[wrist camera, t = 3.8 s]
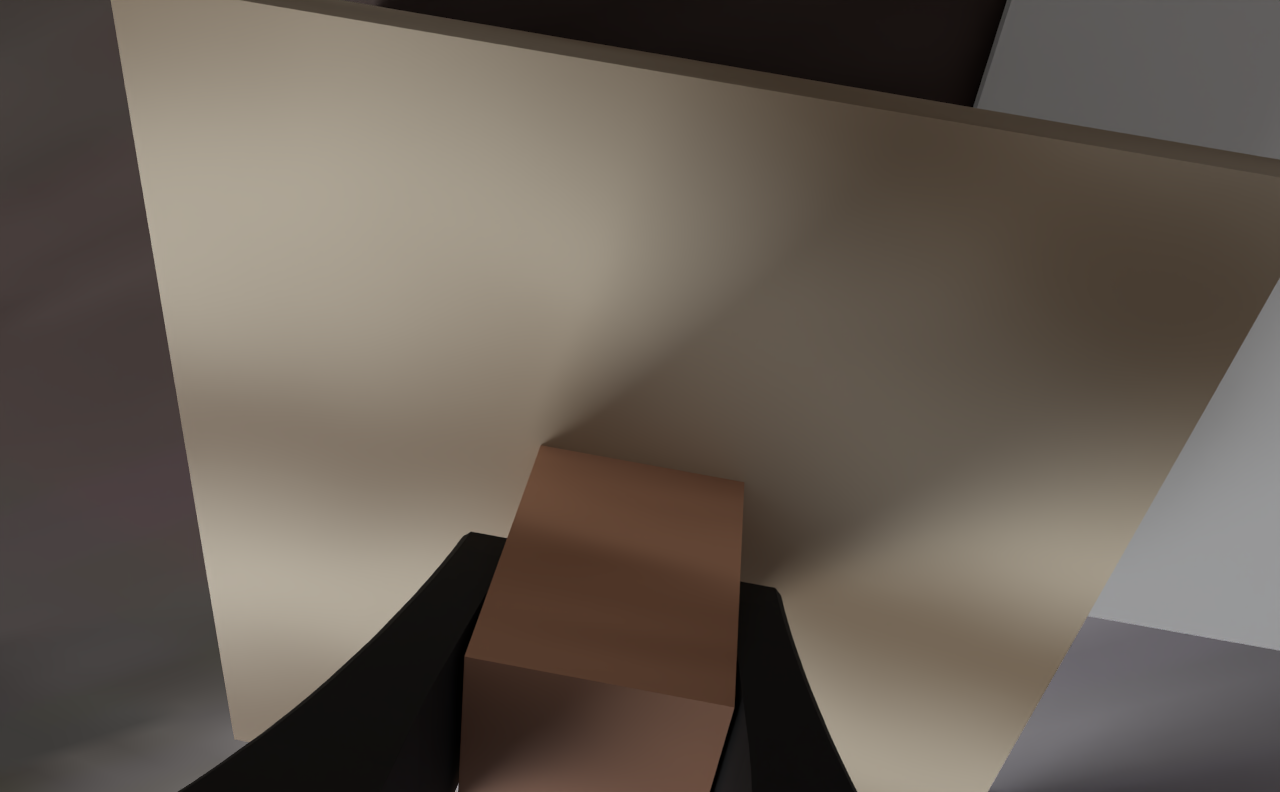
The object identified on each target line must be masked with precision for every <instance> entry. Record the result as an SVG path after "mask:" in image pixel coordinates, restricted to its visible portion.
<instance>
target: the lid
mask: <svg viewBox="0 0 1280 792" xmlns="http://www.w3.org/2000/svg"><path fill="white" fill-rule="evenodd" d="M111 4H112V10H113V16H114V22H115V28H116V34H117V40H118V46H119V52H120V58H121V64H122V70H123V76H124V82H125V88H126V94H127V100H128V106H129V112H130V118H131V124H132V130H133V136H134V142H135V148H136V154H137V160H138V166H139V172H140V178H141V184H142V190H143V196H144V202H145V208H146V214H147V220H148V226H149V232H150V238H151V244H152V250H153V256H154V262H155V268H156V273H157V279H158V285H159V291H160V297H161V303H162V309H163V315H164V321H165V327H166V333H167V339H168V345H169V351H170V357H171V363H172V369H173V375H174V381H175V387H176V393H177V399H178V405H179V411H180V417H181V423H182V429H183V435H184V441H185V447H186V453H187V459H188V465H189V471H190V477H191V483H192V489H193V495H194V501H195V507H196V513H197V519H198V525H199V531H200V537H201V543H202V549H203V555H204V561H205V567H206V573H207V579H208V585H209V591H210V597H211V603H212V608H213V614H214V620H215V626H216V632H217V638H218V644H219V650H220V656H221V662H222V668H223V674H224V680H225V686H226V692H227V698H228V704H229V710H230V716H231V722H232V728H233V734H234V739H236V740H241V741H246V742H250V741H252V740H253V739H255V738H256V737H257V736H259V735H260V734H262V733H263V732H264V731H265V730H267V729H268V728H269V727H271V726H272V725H273V724H274V723H276V722H277V721H278V720H279V719H281V718H282V717H283V716H285V715H286V714H287V713H288V712H290V711H291V710H292V709H293V708H295V707H296V706H297V705H298V704H299V703H301V702H302V701H303V700H304V699H306V698H307V697H308V696H309V695H310V694H311V693H313V692H314V691H315V690H316V689H317V688H318V687H320V686H321V685H322V684H323V683H324V682H325V681H327V680H328V679H329V678H330V677H331V676H332V675H333V674H334V673H335V672H336V671H337V670H339V669H340V668H341V667H342V666H343V665H344V664H345V663H346V662H347V661H348V660H349V659H350V658H351V657H353V656H354V655H355V654H356V653H357V652H358V651H359V650H360V649H361V648H362V647H363V646H364V645H366V644H367V643H368V642H369V641H370V640H371V639H372V638H373V637H374V636H375V635H376V634H377V633H378V632H379V631H380V630H381V629H382V628H383V627H384V626H385V625H386V624H387V623H388V621H389V620H390V619H391V618H392V617H393V616H394V615H395V614H396V613H397V612H398V611H399V610H400V609H401V608H402V607H403V606H404V605H405V604H406V603H407V602H408V601H409V600H410V599H411V598H412V596H413V595H414V594H415V593H416V592H417V591H418V590H419V589H420V588H421V586H422V585H423V584H424V583H425V582H426V581H427V580H428V579H429V577H430V576H431V575H432V574H433V573H434V572H435V570H436V569H437V568H438V567H439V566H440V565H441V563H442V562H443V561H444V560H445V558H446V557H447V556H448V555H449V554H450V552H451V551H452V550H453V549H454V547H455V546H456V545H457V543H458V542H459V541H460V539H461V538H462V537H463V536H464V535H466V534H468V533H469V532H477V533H482V534H488V535H493V536H498V537H504V538H507V540H506V543H505V546H504V548H503V551H502V554H501V557H500V559H499V562H498V565H497V568H496V570H495V573H494V576H493V579H492V582H491V584H490V587H489V590H488V593H487V595H486V598H485V601H484V604H483V606H482V609H481V612H480V615H479V618H478V620H477V623H476V626H475V629H474V631H473V634H472V637H471V640H470V642H469V645H468V648H467V651H466V654H465V656H464V678H463V700H462V722H461V744H460V766H459V788H458V792H710V789H711V786H712V782H713V779H714V776H715V772H716V769H717V765H718V762H719V759H720V755H721V752H722V748H723V745H724V742H725V738H726V735H727V731H728V728H729V725H730V721H731V718H732V714H733V711H734V707H735V684H736V661H737V639H738V616H739V593H740V581H741V582H747V583H752V584H758V585H763V586H769V587H774V588H776V589H777V591H778V592H779V593H780V595H781V597H782V601H783V605H784V609H785V613H786V616H787V620H788V624H789V627H790V630H791V633H792V637H793V640H794V643H795V646H796V649H797V652H798V654H799V657H800V660H801V663H802V666H803V669H804V671H805V674H806V677H807V679H808V682H809V685H810V687H811V690H812V692H813V695H814V697H815V700H816V702H817V704H818V707H819V709H820V712H821V714H822V717H823V719H824V721H825V724H826V726H827V729H828V731H829V733H830V735H831V738H832V740H833V742H834V744H835V746H836V749H837V751H838V753H839V755H840V757H841V759H842V761H843V763H844V766H845V768H846V770H847V772H848V774H849V776H850V778H851V780H852V782H853V784H854V786H855V788H856V790H857V792H988V791H989V789H990V787H991V785H992V783H993V782H994V780H995V778H996V776H997V775H998V773H999V771H1000V769H1001V768H1002V766H1003V764H1004V762H1005V761H1006V759H1007V757H1008V755H1009V754H1010V752H1011V750H1012V748H1013V747H1014V745H1015V743H1016V741H1017V739H1018V738H1019V736H1020V734H1021V732H1022V731H1023V729H1024V727H1025V725H1026V724H1027V722H1028V720H1029V718H1030V717H1031V715H1032V713H1033V711H1034V710H1035V708H1036V706H1037V704H1038V703H1039V701H1040V699H1041V697H1042V695H1043V694H1044V692H1045V690H1046V688H1047V687H1048V685H1049V683H1050V681H1051V680H1052V678H1053V676H1054V674H1055V673H1056V671H1057V669H1058V667H1059V666H1060V664H1061V662H1062V660H1063V659H1064V657H1065V655H1066V653H1067V651H1068V650H1069V648H1070V646H1071V644H1072V643H1073V641H1074V639H1075V637H1076V636H1077V634H1078V632H1079V630H1080V629H1081V627H1082V625H1083V623H1084V622H1085V620H1086V618H1087V616H1088V615H1089V613H1090V611H1091V609H1092V607H1093V606H1094V604H1095V602H1096V600H1097V599H1098V597H1099V595H1100V593H1101V592H1102V590H1103V588H1104V586H1105V585H1106V583H1107V581H1108V579H1109V578H1110V576H1111V574H1112V572H1113V571H1114V569H1115V567H1116V565H1117V563H1118V562H1119V560H1120V558H1121V556H1122V555H1123V553H1124V551H1125V549H1126V548H1127V546H1128V544H1129V542H1130V541H1131V539H1132V537H1133V535H1134V534H1135V532H1136V530H1137V528H1138V527H1139V525H1140V523H1141V521H1142V519H1143V518H1144V516H1145V514H1146V512H1147V511H1148V509H1149V507H1150V505H1151V504H1152V502H1153V500H1154V498H1155V497H1156V495H1157V493H1158V491H1159V490H1160V488H1161V486H1162V484H1163V483H1164V481H1165V479H1166V477H1167V475H1168V474H1169V472H1170V470H1171V468H1172V467H1173V465H1174V463H1175V461H1176V460H1177V458H1178V456H1179V454H1180V453H1181V451H1182V449H1183V447H1184V446H1185V444H1186V442H1187V440H1188V439H1189V437H1190V435H1191V433H1192V431H1193V430H1194V428H1195V426H1196V424H1197V423H1198V421H1199V419H1200V417H1201V416H1202V414H1203V412H1204V410H1205V409H1206V407H1207V405H1208V403H1209V402H1210V400H1211V398H1212V396H1213V395H1214V393H1215V391H1216V389H1217V387H1218V386H1219V384H1220V382H1221V380H1222V379H1223V377H1224V375H1225V373H1226V372H1227V370H1228V368H1229V366H1230V365H1231V363H1232V361H1233V359H1234V358H1235V356H1236V354H1237V352H1238V350H1239V349H1240V347H1241V345H1242V343H1243V342H1244V340H1245V338H1246V336H1247V335H1248V333H1249V331H1250V329H1251V328H1252V326H1253V324H1254V322H1255V321H1256V319H1257V317H1258V315H1259V314H1260V312H1261V310H1262V308H1263V306H1264V305H1265V303H1266V301H1267V299H1268V298H1269V296H1270V294H1271V292H1272V291H1273V289H1274V287H1275V285H1276V284H1277V282H1278V280H1279V278H1280V160H1279V159H1273V158H1267V157H1261V156H1255V155H1250V154H1244V153H1238V152H1232V151H1226V150H1220V149H1214V148H1208V147H1202V146H1197V145H1191V144H1185V143H1179V142H1173V141H1167V140H1161V139H1155V138H1150V137H1144V136H1138V135H1132V134H1126V133H1120V132H1114V131H1108V130H1102V129H1097V128H1091V127H1085V126H1079V125H1073V124H1067V123H1061V122H1055V121H1049V120H1044V119H1038V118H1032V117H1026V116H1020V115H1014V114H1008V113H1002V112H997V111H991V110H985V109H979V108H973V107H967V106H961V105H955V104H949V103H944V102H938V101H932V100H926V99H920V98H914V97H908V96H902V95H896V94H891V93H885V92H879V91H873V90H867V89H861V88H855V87H849V86H843V85H838V84H832V83H826V82H820V81H814V80H808V79H802V78H796V77H791V76H785V75H779V74H773V73H767V72H761V71H755V70H749V69H743V68H738V67H732V66H726V65H720V64H714V63H708V62H702V61H696V60H690V59H685V58H679V57H673V56H667V55H661V54H655V53H649V52H643V51H638V50H632V49H626V48H620V47H614V46H608V45H602V44H596V43H590V42H585V41H579V40H573V39H567V38H561V37H555V36H549V35H543V34H537V33H532V32H526V31H520V30H514V29H508V28H502V27H496V26H490V25H485V24H479V23H473V22H467V21H461V20H455V19H449V18H443V17H437V16H432V15H426V14H420V13H414V12H408V11H402V10H396V9H390V8H384V7H379V6H373V5H367V4H361V3H355V2H349V1H343V0H111Z"/></svg>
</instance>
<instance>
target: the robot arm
mask: <svg viewBox="0 0 1280 792" xmlns="http://www.w3.org/2000/svg"><path fill="white" fill-rule="evenodd" d="M506 540H507V538H504V537H498V536H493V535H488V534H482V533H477V532H469V533H468V534H466V535H464V536H463V537H462V538H461V539H460V541H459V542H458V543H457V545H456V546H455V547H454V549H453V550H452V551H451V552H450V554H449V555H448V556H447V557H446V558H445V560H444V561H443V562H442V563H441V565H440V566H439V567H438V568H437V569H436V570H435V572H434V573H433V574H432V575H431V576H430V577H429V579H428V580H427V581H426V582H425V583H424V584H423V585H422V586H421V588H420V589H419V590H418V591H417V592H416V593H415V594H414V595H413V596H412V598H411V599H410V600H409V601H408V602H407V603H406V604H405V605H404V606H403V607H402V608H401V609H400V610H399V611H398V612H397V613H396V614H395V615H394V616H393V617H392V618H391V619H390V620H389V621H388V623H387V624H386V625H385V626H384V627H383V628H382V629H381V630H380V631H379V632H378V633H377V634H376V635H375V636H374V637H373V638H372V639H371V640H370V641H369V642H368V643H367V644H366V645H364V646H363V647H362V648H361V649H360V650H359V651H358V652H357V653H356V654H355V655H354V656H353V657H351V658H350V659H349V660H348V661H347V662H346V663H345V664H344V665H343V666H342V667H341V668H340V669H339V670H337V671H336V672H335V673H334V674H333V675H332V676H331V677H330V678H329V679H328V680H327V681H325V682H324V683H323V684H322V685H321V686H320V687H318V688H317V689H316V690H315V691H314V692H313V693H311V694H310V695H309V696H308V697H307V698H306V699H304V700H303V701H302V702H301V703H299V704H298V705H297V706H296V707H295V708H293V709H292V710H291V711H290V712H288V713H287V714H286V715H285V716H283V717H282V718H281V719H279V720H278V721H277V722H276V723H274V724H273V725H272V726H271V727H269V728H268V729H267V730H265V731H264V732H263V733H262V734H260V735H259V736H257V737H256V738H255V739H253V740H252V741H250V742H249V743H248V744H246V745H245V746H244V747H242V748H241V749H239V750H238V751H237V752H235V753H234V754H233V755H231V756H230V757H228V758H227V759H226V760H224V761H223V762H222V763H220V764H219V765H217V766H216V767H214V768H213V769H211V770H210V771H208V772H207V773H206V774H204V775H203V776H201V777H200V778H198V779H197V780H195V781H194V782H192V783H191V784H189V785H188V786H186V787H184V788H183V789H181V790H180V791H178V792H455V790H456V788H457V785H458V783H459V766H460V744H461V722H462V700H463V678H464V656H465V654H466V651H467V648H468V645H469V642H470V640H471V637H472V634H473V631H474V629H475V626H476V623H477V620H478V618H479V615H480V612H481V609H482V606H483V604H484V601H485V598H486V595H487V593H488V590H489V587H490V584H491V582H492V579H493V576H494V573H495V570H496V568H497V565H498V562H499V559H500V557H501V554H502V551H503V548H504V546H505V543H506ZM710 792H857V790H856V788H855V786H854V784H853V782H852V780H851V778H850V776H849V774H848V772H847V770H846V768H845V766H844V763H843V761H842V759H841V757H840V755H839V753H838V751H837V749H836V746H835V744H834V742H833V740H832V738H831V735H830V733H829V731H828V729H827V726H826V724H825V721H824V719H823V717H822V714H821V712H820V709H819V707H818V704H817V702H816V700H815V697H814V695H813V692H812V690H811V687H810V685H809V682H808V679H807V677H806V674H805V671H804V669H803V666H802V663H801V660H800V657H799V654H798V652H797V649H796V646H795V643H794V640H793V637H792V633H791V630H790V627H789V624H788V620H787V616H786V613H785V609H784V605H783V601H782V597H781V595H780V593H779V592H778V591H777V589H776V588H774V587H769V586H763V585H758V584H752V583H747V582H741V581H740V593H739V616H738V639H737V661H736V684H735V707H734V711H733V714H732V718H731V721H730V725H729V728H728V731H727V735H726V738H725V742H724V745H723V748H722V752H721V755H720V759H719V762H718V765H717V769H716V772H715V776H714V779H713V782H712V786H711V789H710Z"/></svg>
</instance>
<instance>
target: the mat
mask: <svg viewBox="0 0 1280 792" xmlns="http://www.w3.org/2000/svg"><path fill="white" fill-rule="evenodd" d="M973 108H979V109H985V110H991V111H997V112H1002V113H1008V114H1014V115H1020V116H1026V117H1032V118H1038V119H1044V120H1049V121H1055V122H1061V123H1067V124H1073V125H1079V126H1085V127H1091V128H1097V129H1102V130H1108V131H1114V132H1120V133H1126V134H1132V135H1138V136H1144V137H1150V138H1155V139H1161V140H1167V141H1173V142H1179V143H1185V144H1191V145H1197V146H1202V147H1208V148H1214V149H1220V150H1226V151H1232V152H1238V153H1244V154H1250V155H1255V156H1261V157H1267V158H1273V159H1279V160H1280V0H1007V2H1006V5H1005V8H1004V11H1003V14H1002V17H1001V21H1000V24H999V27H998V30H997V33H996V36H995V39H994V43H993V46H992V49H991V52H990V55H989V58H988V61H987V65H986V68H985V71H984V74H983V77H982V80H981V83H980V87H979V90H978V93H977V96H976V99H975V102H974V105H973ZM1088 616H1090V617H1095V618H1101V619H1107V620H1112V621H1118V622H1123V623H1129V624H1135V625H1140V626H1146V627H1151V628H1157V629H1163V630H1168V631H1174V632H1179V633H1185V634H1190V635H1196V636H1202V637H1207V638H1213V639H1218V640H1224V641H1230V642H1235V643H1241V644H1246V645H1252V646H1258V647H1263V648H1269V649H1274V650H1280V278H1279V280H1278V282H1277V284H1276V285H1275V287H1274V289H1273V291H1272V292H1271V294H1270V296H1269V298H1268V299H1267V301H1266V303H1265V305H1264V306H1263V308H1262V310H1261V312H1260V314H1259V315H1258V317H1257V319H1256V321H1255V322H1254V324H1253V326H1252V328H1251V329H1250V331H1249V333H1248V335H1247V336H1246V338H1245V340H1244V342H1243V343H1242V345H1241V347H1240V349H1239V350H1238V352H1237V354H1236V356H1235V358H1234V359H1233V361H1232V363H1231V365H1230V366H1229V368H1228V370H1227V372H1226V373H1225V375H1224V377H1223V379H1222V380H1221V382H1220V384H1219V386H1218V387H1217V389H1216V391H1215V393H1214V395H1213V396H1212V398H1211V400H1210V402H1209V403H1208V405H1207V407H1206V409H1205V410H1204V412H1203V414H1202V416H1201V417H1200V419H1199V421H1198V423H1197V424H1196V426H1195V428H1194V430H1193V431H1192V433H1191V435H1190V437H1189V439H1188V440H1187V442H1186V444H1185V446H1184V447H1183V449H1182V451H1181V453H1180V454H1179V456H1178V458H1177V460H1176V461H1175V463H1174V465H1173V467H1172V468H1171V470H1170V472H1169V474H1168V475H1167V477H1166V479H1165V481H1164V483H1163V484H1162V486H1161V488H1160V490H1159V491H1158V493H1157V495H1156V497H1155V498H1154V500H1153V502H1152V504H1151V505H1150V507H1149V509H1148V511H1147V512H1146V514H1145V516H1144V518H1143V519H1142V521H1141V523H1140V525H1139V527H1138V528H1137V530H1136V532H1135V534H1134V535H1133V537H1132V539H1131V541H1130V542H1129V544H1128V546H1127V548H1126V549H1125V551H1124V553H1123V555H1122V556H1121V558H1120V560H1119V562H1118V563H1117V565H1116V567H1115V569H1114V571H1113V572H1112V574H1111V576H1110V578H1109V579H1108V581H1107V583H1106V585H1105V586H1104V588H1103V590H1102V592H1101V593H1100V595H1099V597H1098V599H1097V600H1096V602H1095V604H1094V606H1093V607H1092V609H1091V611H1090V613H1089V615H1088Z"/></svg>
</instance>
